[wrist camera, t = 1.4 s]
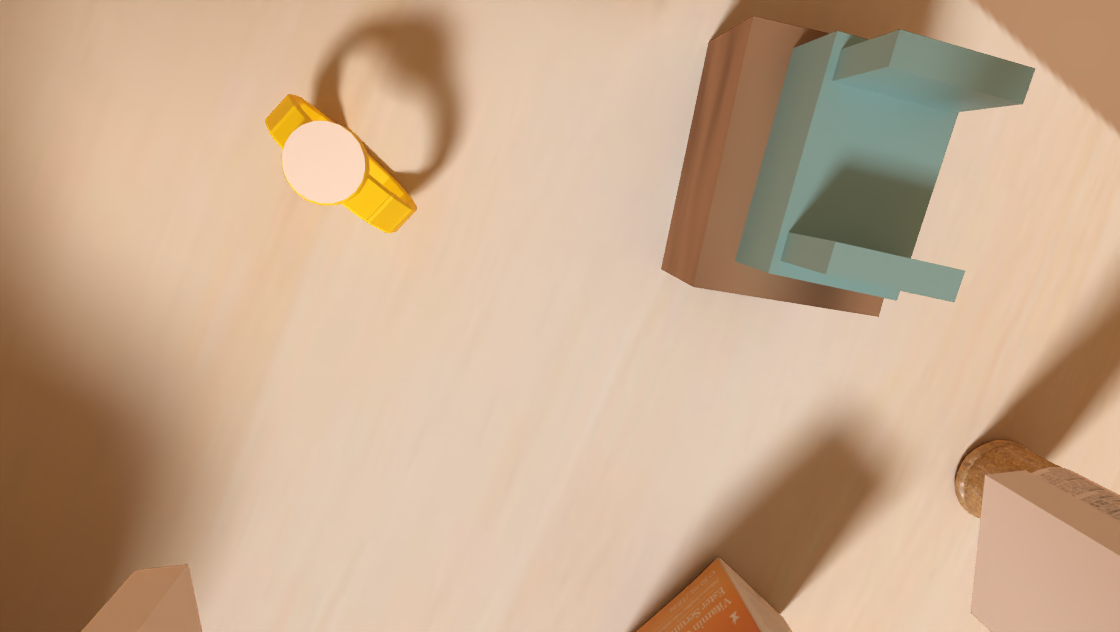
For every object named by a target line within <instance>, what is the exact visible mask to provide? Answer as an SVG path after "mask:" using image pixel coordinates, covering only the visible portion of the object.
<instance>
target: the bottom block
mask: <svg viewBox="0 0 1120 632" xmlns="http://www.w3.org/2000/svg"><path fill="white" fill-rule="evenodd" d="M828 34H829V33H824V32H820V31H816V30H811V29H807V28H803V27H798V26H794V25H790V24H786V23H781V22H777V21H773V20H768V19H764V18H760V17H755V16H752V17H751V18H749V19H747V20H746V21H744V22H742V23H740V24H739V25H737V26H735V27H733V28H732V29H730V30H728V31H727V32H725V33H723V34H721V35H720V36H718V37H716V38H715V39H713V40H711V41H709V43H708V48H707V53H706V58H705V62H704V67H703V72H702V77H701V82H700V86H699V91H698V96H697V101H696V105H695V110H694V115H693V120H692V125H691V129H690V134H689V139H688V144H687V148H686V153H685V158H684V163H683V168H682V172H681V177H680V182H679V187H678V191H677V196H676V201H675V206H674V211H673V215H672V220H671V225H670V230H669V235H668V239H667V244H666V249H665V254H664V258H663V263H662V268H661V269H662V270H664V271H666V272H667V273H669V274H671V275H673V276H675V277H676V278H678V279H680V280H682V281H684V282H686V283H687V284H689V285H691V286H693V287H698V288H704V289H710V290H716V291H722V292H729V293H735V294H741V295H747V296H753V297H760V298H766V299H772V300H778V301H784V302H791V303H797V304H803V305H809V306H815V307H822V308H828V309H834V310H840V311H847V312H853V313H859V314H865V315H871V316H878V317H879V313H880V310H881V306H882V303H883V299H884V298H883V297H878V296H873V295H868V294H864V293H859V292H854V291H850V290H845V289H840V288H836V287H831V286H826V285H821V284H817V283H812V282H807V281H803V280H798V279H793V278H789V277H784V276H779V275H774V274H770V273H766V272H764V271H761V270H758V269H755V268H752V267H750V266H747V265H744V264H741V263H738V262H736V261H735V259H736V256H737V252H738V248H739V245H740V241H741V237H742V234H743V230H744V226H745V223H746V219H747V215H748V212H749V208H750V204H751V201H752V197H753V193H754V190H755V186H756V182H757V179H758V175H759V172H760V168H761V164H762V161H763V157H764V153H765V150H766V146H767V142H768V139H769V135H770V131H771V128H772V124H773V120H774V117H775V113H776V109H777V106H778V102H779V98H780V95H781V91H782V87H783V84H784V80H785V77H786V73H787V69H788V66H789V62H790V58H791V55H792V51H793V48H795V47H798V46H800V45H803V44H805V43H808V42H810V41H813V40H815V39H818V38H820V37H823V36H825V35H828Z"/></svg>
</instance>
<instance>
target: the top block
mask: <svg viewBox="0 0 1120 632" xmlns="http://www.w3.org/2000/svg"><path fill="white" fill-rule="evenodd" d="M1034 71H1035V68H1032V67H1028V66H1025V65H1021V64H1018V63H1015V62H1011V61H1008V60H1004V59H1001V58H997V57H994V56H990V55H987V54H983V53H980V52H976V51H973V50H970V49H966V48H963V47H959V46H956V45H952V44H949V43H945V42H942V41H938V40H935V39H932V38H928V37H925V36H921V35H918V34H914V33H911V32H907V31H904V30H897V31H894V32H891V33H888V34H885V35H882V36H879V37H876V38H873V39H870V40H868V39H864V38H861V37H857V36H854V35H850V34H847V33H843V32H840V31H836V32H833V33H830V34H828V35H825V36H823V37H820V38H818V39H815V40H813V41H810V42H808V43H805V44H803V45H800V46H798V47H795V48H793V51H792V55H791V58H790V62H789V66H788V69H787V73H786V77H785V80H784V84H783V87H782V91H781V95H780V98H779V102H778V106H777V109H776V113H775V117H774V120H773V124H772V128H771V131H770V135H769V139H768V142H767V146H766V150H765V153H764V157H763V161H762V164H761V168H760V172H759V175H758V179H757V182H756V186H755V190H754V193H753V197H752V201H751V204H750V208H749V212H748V215H747V219H746V223H745V226H744V230H743V234H742V237H741V241H740V245H739V248H738V252H737V256H736V259H735V261H736V262H738V263H741V264H744V265H747V266H750V267H752V268H755V269H758V270H761V271H764V272H766V273H770V274H774V275H779V276H784V277H789V278H793V279H798V280H803V281H807V282H812V283H817V284H821V285H826V286H831V287H836V288H840V289H845V290H850V291H854V292H859V293H864V294H868V295H873V296H878V297H883V298H887V299H892V300H897V298H898V295H899V292H900V291H904V292H909V293H914V294H918V295H923V296H928V297H932V298H937V299H941V300H946V301H951V302H955V299H956V296H957V293H958V290H959V287H960V284H961V281H962V279H963V276H964V273H965V271H964V270H959V269H955V268H950V267H946V266H941V265H937V264H933V263H928V262H924V261H919V260H915V259H911V256H912V253H913V250H914V247H915V244H916V241H917V237H918V234H919V231H920V228H921V225H922V222H923V219H924V216H925V213H926V210H927V207H928V204H929V201H930V198H931V195H932V192H933V189H934V186H935V183H936V180H937V176H938V173H939V170H940V167H941V164H942V161H943V158H944V155H945V152H946V149H947V146H948V143H949V140H950V137H951V134H952V131H953V128H954V125H955V122H956V119H957V115H958V112H962V111H970V110H978V109H986V108H994V107H1002V106H1010V105H1019V104H1023V102H1024V99H1025V97H1026V94H1027V91H1028V88H1029V85H1030V82H1031V79H1032V76H1033V73H1034Z"/></svg>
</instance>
